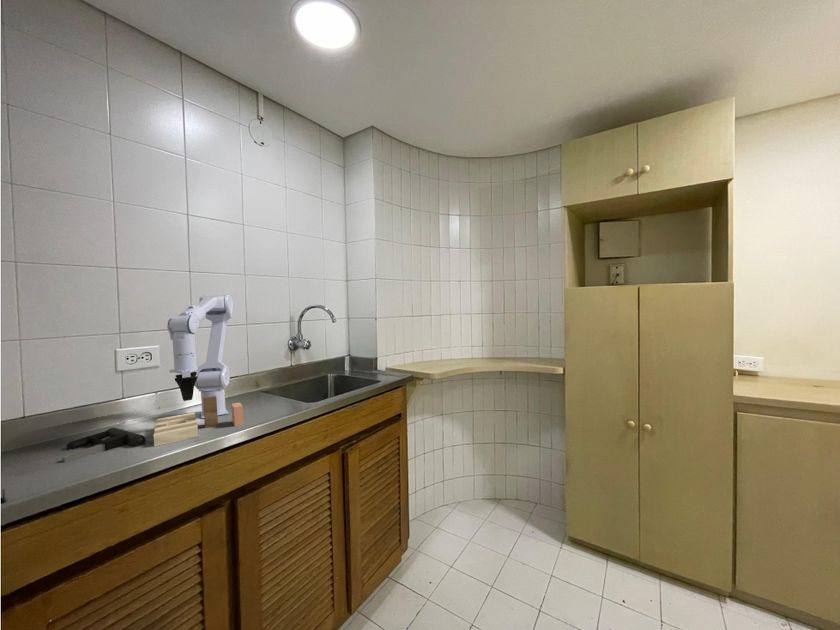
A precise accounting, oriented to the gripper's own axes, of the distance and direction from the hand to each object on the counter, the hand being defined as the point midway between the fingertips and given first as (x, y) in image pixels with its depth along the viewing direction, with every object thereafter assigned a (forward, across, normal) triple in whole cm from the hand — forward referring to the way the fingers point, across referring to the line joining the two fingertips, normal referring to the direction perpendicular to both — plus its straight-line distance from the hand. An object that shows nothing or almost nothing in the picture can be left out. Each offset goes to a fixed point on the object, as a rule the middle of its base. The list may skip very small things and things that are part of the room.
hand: (187, 398), depth 105 cm
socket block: (+10, 0, -3) cm, 10 cm away
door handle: (+10, 0, -20) cm, 23 cm away
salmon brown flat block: (+10, +4, +13) cm, 17 cm away
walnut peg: (+10, 0, +6) cm, 11 cm away
